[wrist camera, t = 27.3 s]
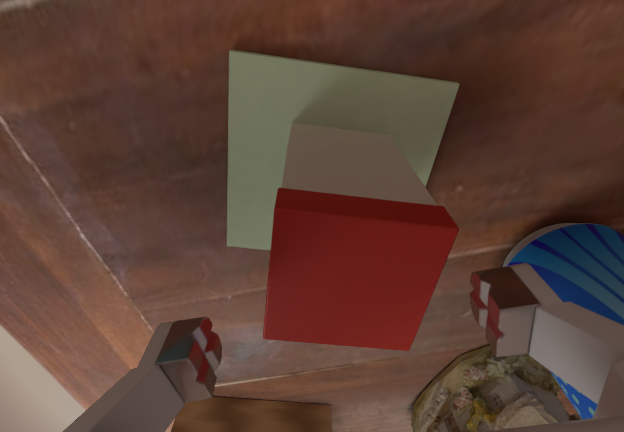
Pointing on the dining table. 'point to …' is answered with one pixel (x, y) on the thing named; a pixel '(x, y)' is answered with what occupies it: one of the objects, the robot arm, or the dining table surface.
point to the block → (252, 416)
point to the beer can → (578, 276)
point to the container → (352, 242)
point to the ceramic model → (489, 395)
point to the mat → (316, 111)
